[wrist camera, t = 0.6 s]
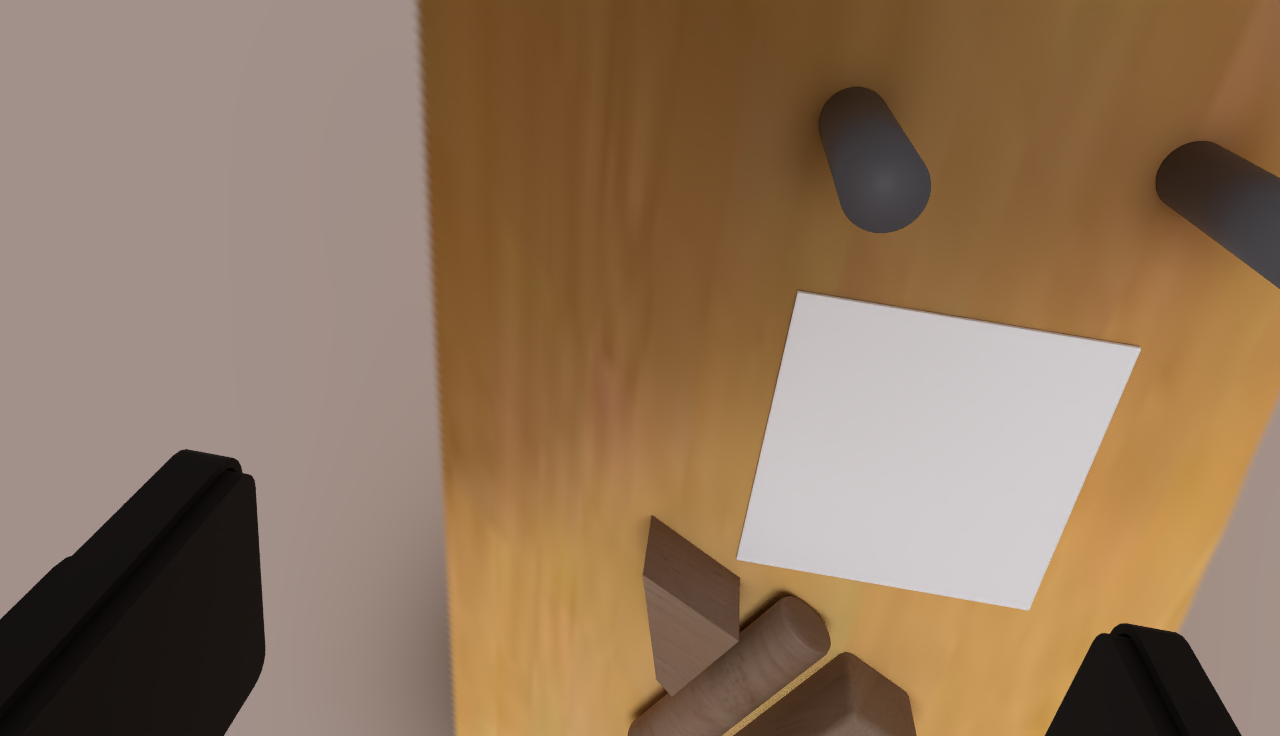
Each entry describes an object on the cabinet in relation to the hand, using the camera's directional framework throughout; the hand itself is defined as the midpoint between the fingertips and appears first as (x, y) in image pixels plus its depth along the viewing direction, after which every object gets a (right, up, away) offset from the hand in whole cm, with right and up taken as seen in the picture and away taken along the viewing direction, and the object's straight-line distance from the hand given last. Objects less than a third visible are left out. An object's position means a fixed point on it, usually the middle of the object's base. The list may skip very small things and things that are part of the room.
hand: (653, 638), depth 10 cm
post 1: (+8, +12, +25) cm, 29 cm away
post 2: (+20, +10, +24) cm, 33 cm away
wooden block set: (+2, -14, +39) cm, 42 cm away
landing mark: (+12, -1, +31) cm, 33 cm away
